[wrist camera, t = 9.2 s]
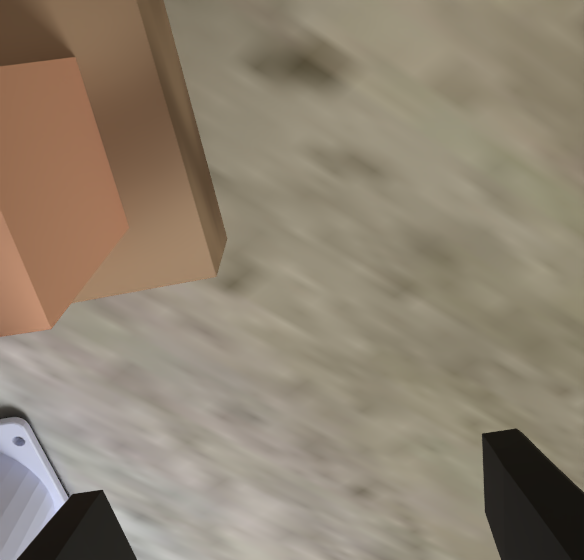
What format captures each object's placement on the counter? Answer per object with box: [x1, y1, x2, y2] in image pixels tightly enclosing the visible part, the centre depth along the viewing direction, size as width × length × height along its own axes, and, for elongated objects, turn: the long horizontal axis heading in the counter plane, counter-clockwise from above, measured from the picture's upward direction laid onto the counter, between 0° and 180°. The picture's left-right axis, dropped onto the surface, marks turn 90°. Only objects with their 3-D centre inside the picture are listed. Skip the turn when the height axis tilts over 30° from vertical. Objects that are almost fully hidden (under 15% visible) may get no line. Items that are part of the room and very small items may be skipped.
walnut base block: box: [0, 0, 227, 303], centre depth 15 cm, size 8×8×4 cm
